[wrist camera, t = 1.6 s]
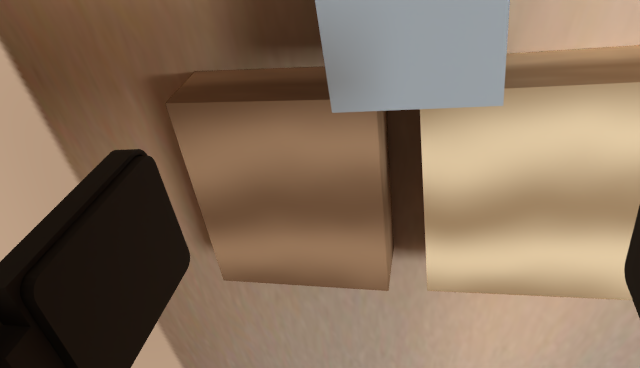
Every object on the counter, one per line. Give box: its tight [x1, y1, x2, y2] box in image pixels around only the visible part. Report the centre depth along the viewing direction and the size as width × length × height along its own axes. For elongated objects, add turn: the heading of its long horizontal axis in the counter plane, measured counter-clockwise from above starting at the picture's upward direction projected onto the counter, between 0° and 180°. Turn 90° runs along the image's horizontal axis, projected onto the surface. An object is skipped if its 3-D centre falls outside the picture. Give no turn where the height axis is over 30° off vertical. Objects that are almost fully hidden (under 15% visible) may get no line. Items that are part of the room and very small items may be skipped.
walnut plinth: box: [165, 67, 394, 291], centre depth 28 cm, size 12×10×4 cm
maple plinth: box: [420, 45, 640, 300], centre depth 25 cm, size 12×12×4 cm
